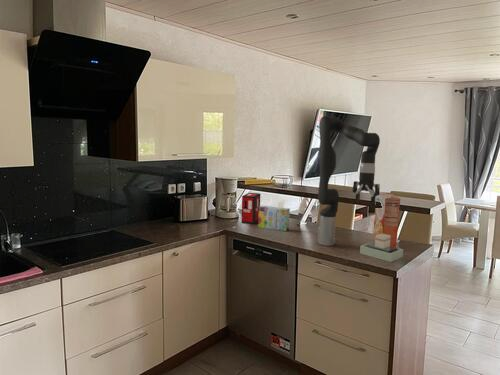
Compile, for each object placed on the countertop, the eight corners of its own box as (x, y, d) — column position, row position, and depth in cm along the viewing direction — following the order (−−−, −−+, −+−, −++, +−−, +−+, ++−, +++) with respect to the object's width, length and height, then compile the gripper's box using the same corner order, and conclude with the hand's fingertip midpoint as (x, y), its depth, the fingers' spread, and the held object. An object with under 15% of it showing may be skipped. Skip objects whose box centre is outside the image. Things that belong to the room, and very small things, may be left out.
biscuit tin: (367, 254, 207) (367, 245, 206) (375, 250, 213) (376, 242, 212) (388, 259, 198) (389, 250, 197) (396, 256, 204) (397, 247, 203)
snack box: (289, 229, 258) (290, 208, 256) (286, 231, 253) (287, 209, 251) (261, 225, 268) (261, 204, 266) (257, 227, 263) (258, 206, 261)
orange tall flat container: (373, 238, 242) (376, 192, 238) (386, 239, 241) (389, 192, 237) (381, 249, 219) (385, 198, 215) (395, 250, 218) (400, 198, 214)
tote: (359, 254, 208) (360, 245, 207) (372, 250, 217) (372, 241, 216) (390, 263, 195) (391, 254, 194) (402, 258, 204) (403, 249, 203)
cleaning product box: (248, 218, 289) (249, 192, 286) (259, 219, 286) (260, 193, 284) (241, 223, 273) (242, 195, 271) (253, 224, 271) (254, 196, 268)
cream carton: (374, 246, 204) (375, 235, 203) (381, 243, 209) (382, 233, 208) (383, 248, 201) (384, 237, 200) (390, 246, 205) (390, 235, 205)
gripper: (351, 170, 200) (349, 201, 202) (376, 173, 189) (373, 205, 192) (358, 170, 205) (357, 199, 207) (383, 172, 194) (381, 203, 197)
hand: (365, 202), depth 199 cm, fingers open, 8 cm apart
